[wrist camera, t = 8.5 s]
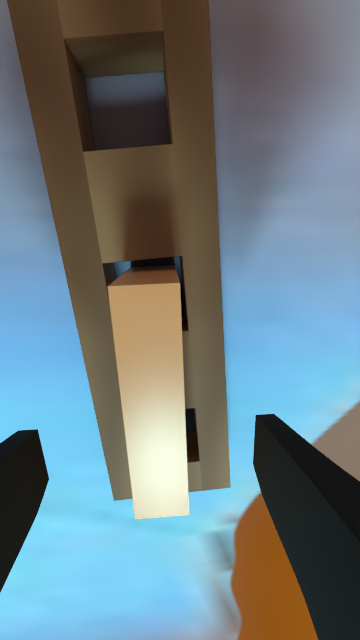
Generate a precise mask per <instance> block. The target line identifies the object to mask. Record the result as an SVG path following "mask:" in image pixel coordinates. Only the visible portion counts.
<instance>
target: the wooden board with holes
mask: <svg viewBox="0 0 360 640" xmlns="http://www.w3.org/2000/svg"><path fill="white" fill-rule="evenodd" d="M7 2H8V7H9V12H10V16H11V21H12V26H13V30H14V35H15V40H16V44H17V49H18V54H19V58H20V63H21V68H22V72H23V77H24V82H25V86H26V91H27V96H28V100H29V105H30V110H31V114H32V119H33V124H34V128H35V133H36V138H37V142H38V147H39V152H40V156H41V161H42V166H43V170H44V175H45V180H46V185H47V189H48V194H49V199H50V203H51V208H52V213H53V217H54V222H55V227H56V231H57V236H58V241H59V245H60V250H61V255H62V259H63V264H64V269H65V273H66V278H67V283H68V287H69V292H70V297H71V301H72V306H73V311H74V315H75V320H76V325H77V329H78V334H79V339H80V343H81V348H82V353H83V357H84V362H85V367H86V371H87V376H88V381H89V385H90V390H91V395H92V399H93V404H94V409H95V414H96V418H97V423H98V428H99V432H100V437H101V442H102V446H103V451H104V456H105V460H106V465H107V470H108V474H109V479H110V484H111V488H112V493H113V498H114V501H115V500H124V499H133V496H132V488H131V480H130V471H129V463H128V454H127V446H126V437H125V429H124V421H123V412H122V404H121V395H120V387H119V378H118V370H117V362H116V353H115V345H114V336H113V328H112V319H111V311H110V303H109V294H108V285H110V284H111V283H112V282H113V281H115V280H116V276H115V269H114V263H113V262H122V261H132V260H143V259H153V258H163V257H174V256H180V262H181V274H182V285H183V296H184V308H185V317H181V318H182V344H183V369H184V395H185V409H189V408H193V410H194V421H195V432H187V433H186V446H187V471H188V492H194V491H203V490H212V489H221V488H229V487H230V466H229V444H228V422H227V400H226V378H225V356H224V334H223V313H222V291H221V269H220V247H219V225H218V203H217V181H216V159H215V137H214V115H213V93H212V71H211V49H210V27H209V5H208V0H7ZM161 71H164V81H165V92H166V103H167V115H168V126H169V137H170V144H166V145H155V146H143V147H132V148H120V149H109V150H98V151H95V144H94V138H93V132H92V126H91V119H90V113H89V107H88V101H87V94H86V88H85V82H84V78H88V77H100V76H113V75H125V74H137V73H149V72H161Z"/></svg>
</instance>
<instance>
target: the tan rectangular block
mask: <svg viewBox="0 0 360 640" xmlns="http://www.w3.org/2000/svg"><path fill="white" fill-rule="evenodd" d="M108 294H109V303H110V311H111V319H112V328H113V336H114V345H115V353H116V362H117V370H118V378H119V387H120V395H121V404H122V412H123V421H124V429H125V437H126V446H127V454H128V463H129V471H130V480H131V488H132V496H133V505H134V513H135V519H145V518H158V517H171V516H184V515H189V496H188V471H187V446H186V420H185V395H184V369H183V344H182V318H181V293H180V281H179V278H178V274H177V271H176V268H175V265H174V266H151V267H131V268H129V269H128V270H127V271H126V272H124V273H123V274H122V275H121V276H120V277H118V278H117V279H116V280H115V281H113V282H112V283H111V284H110V285H108Z"/></svg>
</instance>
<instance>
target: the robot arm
mask: <svg viewBox="0 0 360 640" xmlns="http://www.w3.org/2000/svg"><path fill="white" fill-rule="evenodd" d="M253 465H254V469H255V472H256V476H257V479H258V482H259V486H260V489H261V492H262V495H263V498H264V501H265V503H266V506H267V508H268V510H269V513H270V515H271V518H272V520H273V522H274V525H275V527H276V530H277V532H278V535H279V537H280V539H281V542H282V544H283V547H284V549H285V551H286V554H287V556H288V559H289V561H290V563H291V566H292V568H293V571H294V573H295V575H296V578H297V580H298V583H299V585H300V588H301V591H302V593H303V596H304V598H305V601H306V604H307V607H308V610H309V613H310V616H311V619H312V622H313V625H314V628H315V631H316V634H317V637H318V640H360V481H358V480H357V479H355V478H354V477H353V476H351V475H350V474H349V473H347V472H346V471H344V470H343V469H342V468H340V467H339V466H338V465H336V464H335V463H334V462H332V461H331V460H330V459H329V458H327V457H326V456H325V455H323V454H322V453H321V452H320V451H318V450H317V449H316V448H315V447H313V446H312V445H311V444H310V443H308V442H307V441H306V440H305V439H304V438H302V437H301V436H300V435H299V434H298V433H296V432H295V431H294V430H293V429H292V428H290V427H289V426H288V425H287V424H286V423H284V422H283V421H282V420H281V419H279V418H278V417H277V416H276V415H274V414H265V415H256V421H255V440H254V458H253ZM48 480H49V477H48V473H47V468H46V464H45V460H44V455H43V451H42V447H41V442H40V438H39V434H38V429H37V430H22V431H17V432H16V433H14V434H13V435H11V436H10V437H9V438H7V439H6V440H4V441H3V442H2V443H0V592H1V590H2V588H3V586H4V584H5V581H6V579H7V577H8V575H9V573H10V571H11V569H12V567H13V564H14V562H15V560H16V558H17V556H18V554H19V552H20V550H21V548H22V545H23V543H24V541H25V539H26V537H27V535H28V532H29V530H30V528H31V526H32V524H33V522H34V519H35V517H36V515H37V513H38V510H39V507H40V504H41V501H42V499H43V496H44V492H45V489H46V486H47V483H48Z"/></svg>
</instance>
